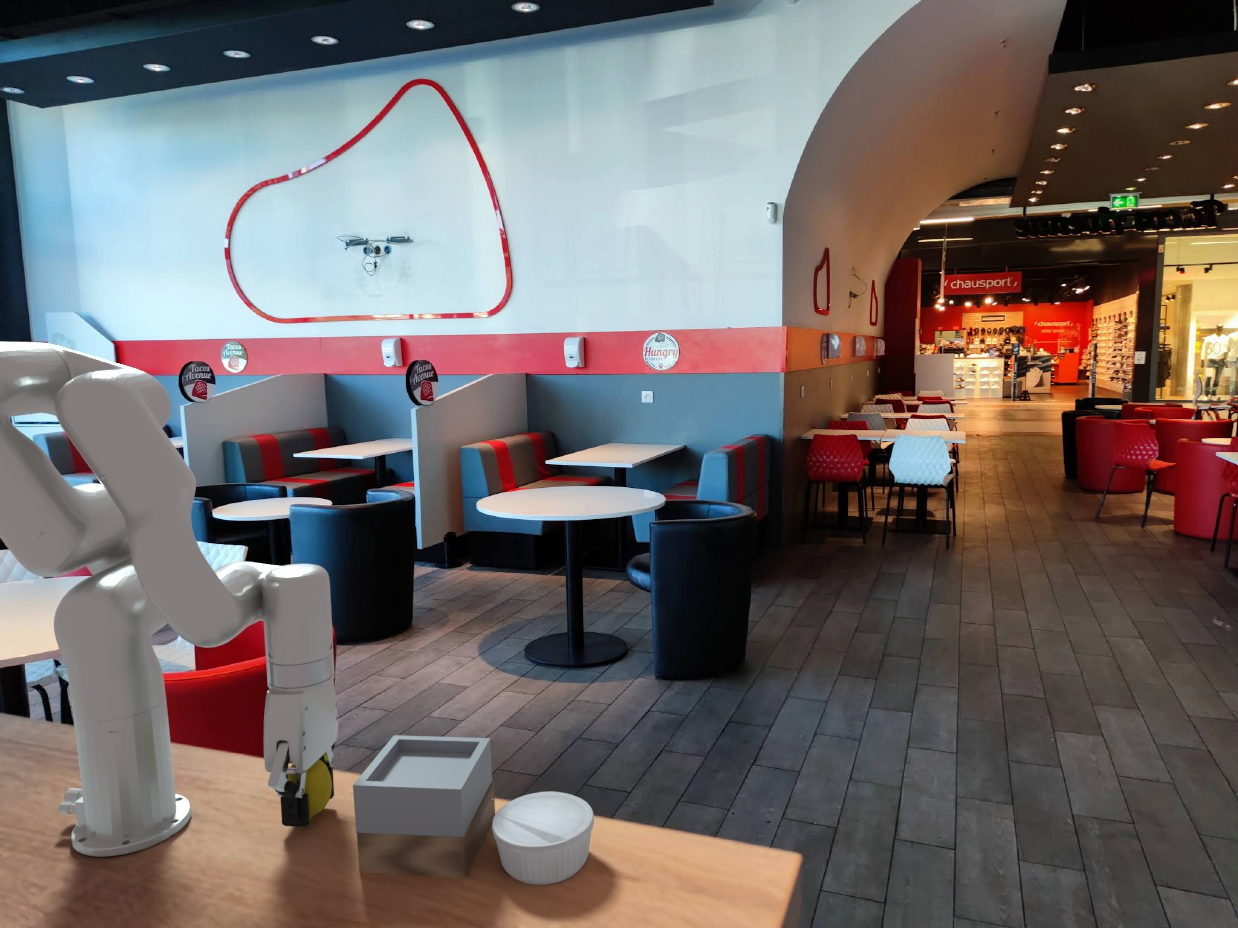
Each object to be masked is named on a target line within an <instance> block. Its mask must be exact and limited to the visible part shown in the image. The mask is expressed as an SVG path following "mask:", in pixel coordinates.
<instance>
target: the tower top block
mask: <svg viewBox="0 0 1238 928" xmlns="http://www.w3.org/2000/svg"><path fill="white" fill-rule="evenodd" d="M491 747H492V746H491V738H490V737H486V738H485V737H465V736H464V737H463V736H461V737H459V736H430V735H429V736H428V735H427V736H426V735H425V736H423V735H398V734H396V735H395V734H394V735H393V736H392V737H391V738H390V739H389V741H388V742H387V743H386V744H385V746H383V748H382V749H381V751H379V753H378V754H377V755H376V756H375V758H373V760H372V761H371V763H369V765H368V766H367V767H366V769H365V770H364V771H363V773H362V774H361V775H360V776H358V777H359V778H357V780H356V781H355V782H354V784H352V791H353V792H352V793H353V805H354V817H355V818H354V820H355V822H354V823H355V833H356V834H357V833H376V834H398V835H420V836H442V837H464V835H465V833H466V831H467V829H468V827H469V825H470V823H471V822H472V820H473V818H474V816H475V814H476V812H477V810H478V808H479V806H480V804H481V802H482V800H483V798H484V796H485V794H486V792H487V790H488V788H489V786H490V784H491V782H493V773H492V769H493V768H492V752H491V751H492V748H491Z"/></svg>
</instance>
